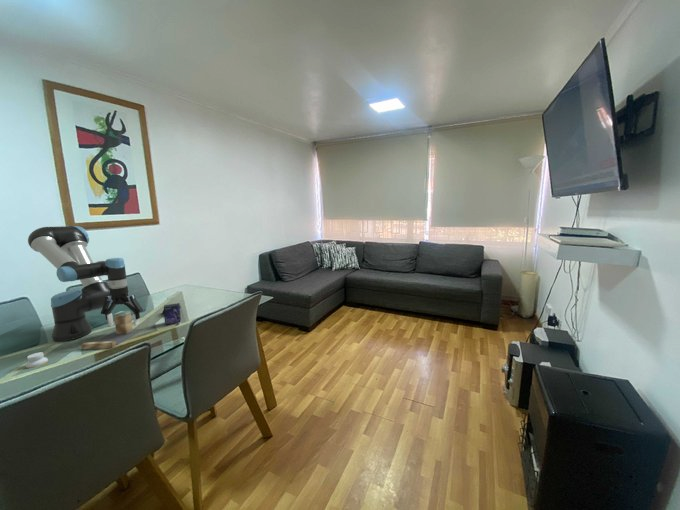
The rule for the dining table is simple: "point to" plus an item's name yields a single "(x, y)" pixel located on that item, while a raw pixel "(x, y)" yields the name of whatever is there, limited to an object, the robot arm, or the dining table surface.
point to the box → (172, 313)
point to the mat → (118, 336)
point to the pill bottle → (36, 360)
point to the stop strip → (98, 345)
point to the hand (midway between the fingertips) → (124, 325)
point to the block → (123, 322)
